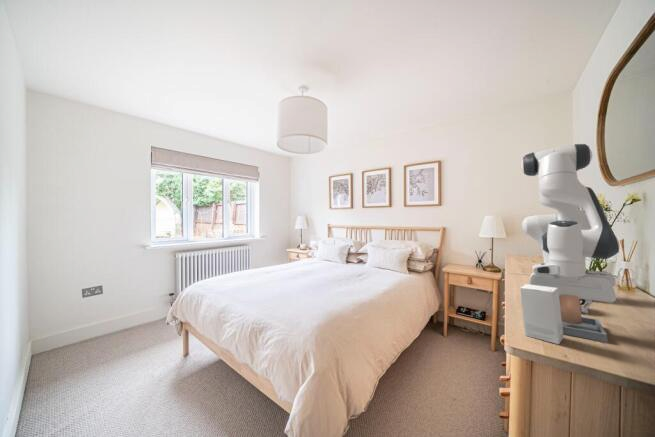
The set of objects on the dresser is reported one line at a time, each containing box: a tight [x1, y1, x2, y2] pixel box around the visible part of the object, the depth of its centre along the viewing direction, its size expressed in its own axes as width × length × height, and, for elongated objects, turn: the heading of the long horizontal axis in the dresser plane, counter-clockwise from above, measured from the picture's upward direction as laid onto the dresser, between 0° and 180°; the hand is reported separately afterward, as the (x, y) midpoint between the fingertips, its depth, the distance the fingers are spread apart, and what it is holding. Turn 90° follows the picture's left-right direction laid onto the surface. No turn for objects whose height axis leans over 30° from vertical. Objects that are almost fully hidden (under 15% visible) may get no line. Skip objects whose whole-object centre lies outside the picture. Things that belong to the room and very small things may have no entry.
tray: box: [562, 316, 609, 344], centre depth 79 cm, size 14×14×2 cm
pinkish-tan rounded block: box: [559, 295, 582, 324], centre depth 79 cm, size 5×5×9 cm
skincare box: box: [519, 283, 564, 345], centre depth 74 cm, size 8×7×16 cm
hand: (569, 310), depth 79 cm, fingers closed on pinkish-tan rounded block, 5 cm apart
